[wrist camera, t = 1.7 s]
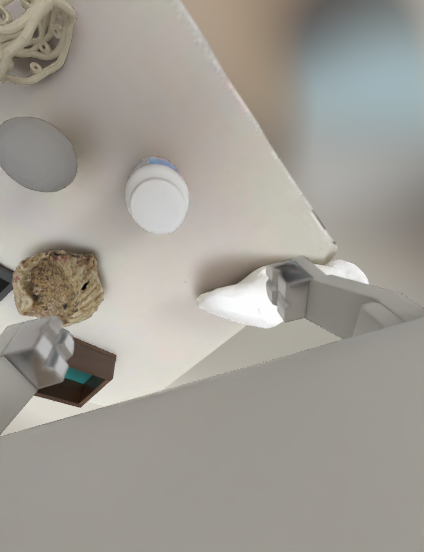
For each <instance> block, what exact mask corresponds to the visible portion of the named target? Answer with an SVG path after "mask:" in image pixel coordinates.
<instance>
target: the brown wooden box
mask: <svg viewBox="0 0 424 552" xmlns="http://www.w3.org/2000/svg"><path fill="white" fill-rule="evenodd" d="M73 340H74V352H73V355H72V356H71V357H70V358H69V359H68V360H67V361H66V363H67V364H68V369H67V372H66V375H65V377H64V380H63V382H61V383H58V384H54V385H51V386H47V387H44V388H41V389H37V390H38V391H37V392H36V393H35V394H34V396H39V397H42V398H46V399H50V400H53V401H57V402H61V403H64V404H68V405H72V406H76V407H82V406H83V405H84V404H85V403H86V402H87V401H88V400H89V399H91V398H92V397H93V396H94V395H95V394H96V393H97V392H98V391H100V390H101V389H102V388H103V387H104V386H105V385H106V384H107V383H109V382H110V381H111V380H112V379H113V374H114V367H115V361H116V355H114V354H111V353H109V352H107V351H104V350H102V349H100V348H97V347H95V346H92V345H90V344H88V343H85V342H83V341H81V340H78V339H76V338H74V337H73Z"/></svg>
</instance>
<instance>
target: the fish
mask: <svg viewBox="0 0 424 552" xmlns="http://www.w3.org/2000/svg"><path fill="white" fill-rule="evenodd" d="M314 265H315V266H317V267H318V268H319V269H320V270H321V271H323V272H324V273H325V274H326V275H330V274H332V275H335V276H339V277H343V278H347V279H350V280H354V281H358V282H362V283H365V284H369V283H368V280H367V278H366V276H365V274H364V273H363V272H362V271H361V270H360V269H359V268H358V267H357V266H355V265H354V264H352V263H350V262H346V261H344V260H340V259H337V260H333V261H332V262H331V263H330V264H329V265H328V266H325V265H318V264H314ZM266 266H267V265H266ZM266 266H263V267H260V268H258V269H257V270H255V271H253V272H252V273H250V274H249V275H248V276H247V277H245V278H244V279H243V280H242V281H240V282H239V283H237V284H236V285H230V286H226V287H222V288H217V289H215V290H213V291H210V292H206V293H203V294H201V295H200V296H199V297H198V298H197V306H198V307H200V308H201V309H203V310H205V311H207V312H209V313H211V314H214V315H216V316H219V317H222V318H225V319H228V320H231V321H234V322H238V323H241V324H246V325H250V326H256V327H261V328H271V327H274V326H276V325H278V324H279V323H281V322H282V321H284V320H283V319H282V317H281V316H280V315H279V313H278V312H277V306H275V305H273V304H272V303H271V301H270V300H269V298H268V295H267V291H266V282H267V280H268V279H269V278H268V276H267V275H266Z"/></svg>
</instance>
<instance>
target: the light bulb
mask: <svg viewBox="0 0 424 552" xmlns="http://www.w3.org/2000/svg"><path fill="white" fill-rule="evenodd" d="M0 166H1V167H2V168H3V170H4V171H5V172H6V173H7V174H8V175H9V176H10V177H11V178H12V179H13V180H14V181H16V182H17V183H19V184H20V185H22V186H24V187H26V188H29V189H32V190H35V191H40V192H55V191H59V190H61V189H63V188H65V187H66V186H68V185H69V184H70V183H71V182H72V181H73V180H74V178H75V176H76V173H77V166H78V162H77V156H76V152H75V150H74V148H73V146H72V144H71V142H70V141H69V140H68V138H67V137H66V136H65V135H64V134H63V133H62V132H61V131H60V130H58V129H57V128H56V127H54V126H53V125H51V124H50V123H48V122H46V121H44V120H41V119H38V118H34V117H15V118H12V119H9V120H7V121H5V122H4V123H3V124H2V125H1V126H0Z"/></svg>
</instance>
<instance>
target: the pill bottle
mask: <svg viewBox="0 0 424 552" xmlns="http://www.w3.org/2000/svg"><path fill="white" fill-rule="evenodd" d="M189 201H190V197H189V191H188V188H187V185H186V183H185V181H184V179H183V178H182V176H181V174H180V173H179V171H178V169H177V168H176V167H175V166H174V164H172V163H171V162H170V161H168V160H167V159H165V158H162V157H157V156H152V157H148V158H145V159H143V160H142V161H140V162H139V163H138V164H137V165H136V166H135V168H134V169H133V171H132V173H131V175H130V177H129V179H128V181H127V184H126V187H125V202H126V206H127V208H128V211H129V212H130V214H131V215H132V217H133V219H134V220H135V222H136V223H137V224H138V225H139V226H140V227H141V228H142V229H144V230H146V231H147V232H150V233H153V234H167V233H170V232H172V231H174V230H175V229H177V228H178V227H179V226H180V225H181V224H182V222H183V220H184V218H185V215H186V213H187V211H188V208H189Z"/></svg>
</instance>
